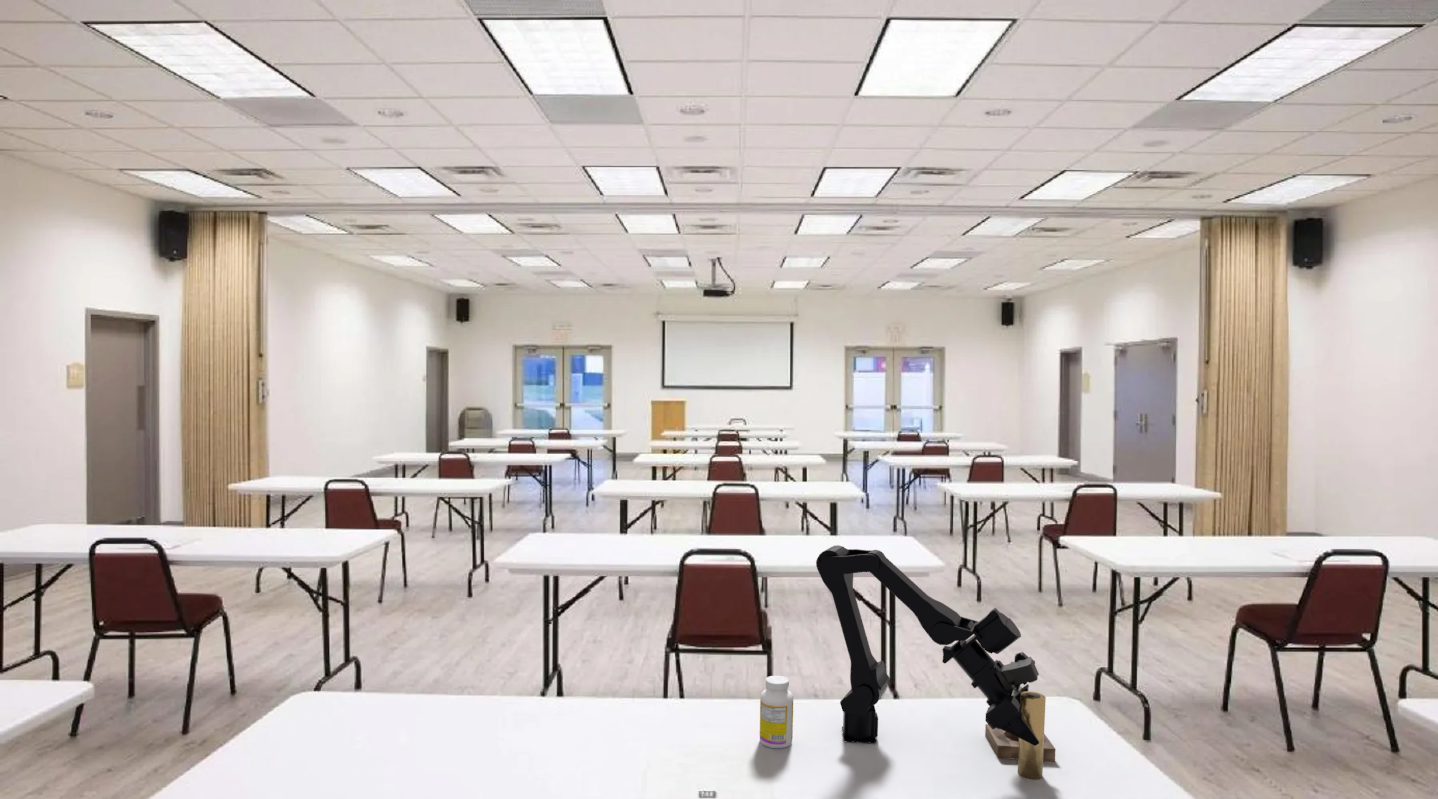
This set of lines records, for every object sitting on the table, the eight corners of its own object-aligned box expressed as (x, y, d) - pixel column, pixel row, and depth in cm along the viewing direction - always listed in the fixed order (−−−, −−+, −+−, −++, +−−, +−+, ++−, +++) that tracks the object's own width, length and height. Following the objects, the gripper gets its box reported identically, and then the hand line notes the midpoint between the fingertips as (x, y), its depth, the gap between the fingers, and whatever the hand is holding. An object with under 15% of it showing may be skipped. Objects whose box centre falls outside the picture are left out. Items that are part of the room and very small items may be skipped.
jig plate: (997, 758, 163) (997, 745, 163) (985, 735, 173) (985, 724, 173) (1054, 761, 162) (1055, 748, 162) (1039, 739, 172) (1039, 727, 172)
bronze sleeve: (1021, 779, 154) (1024, 698, 154) (1014, 767, 159) (1017, 689, 158) (1045, 780, 154) (1048, 700, 154) (1038, 769, 158) (1041, 691, 158)
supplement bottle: (774, 732, 172) (776, 671, 171) (799, 743, 167) (800, 680, 167) (752, 741, 167) (754, 678, 167) (777, 753, 162) (778, 688, 162)
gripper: (1006, 657, 149) (1070, 731, 144) (1017, 629, 166) (1075, 694, 161) (960, 692, 153) (1021, 765, 148) (975, 662, 169) (1031, 726, 165)
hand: (1039, 735), depth 156 cm, fingers open, 8 cm apart
